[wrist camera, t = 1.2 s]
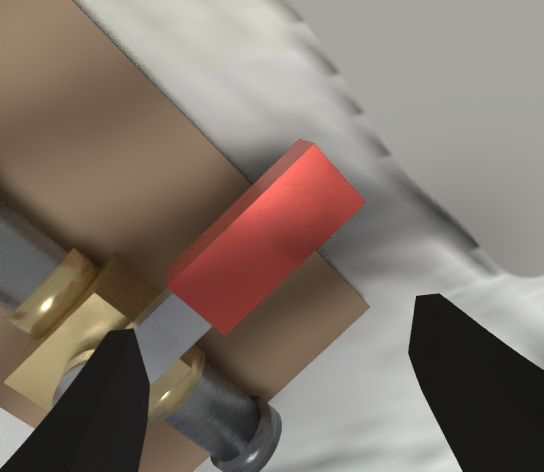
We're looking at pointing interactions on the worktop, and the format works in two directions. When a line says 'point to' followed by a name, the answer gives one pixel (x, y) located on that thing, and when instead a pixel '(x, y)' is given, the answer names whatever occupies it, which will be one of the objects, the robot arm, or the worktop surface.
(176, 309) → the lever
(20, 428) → the worktop surface
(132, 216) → the mounting board
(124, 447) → the robot arm
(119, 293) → the valve pipe
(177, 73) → the worktop surface
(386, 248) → the worktop surface
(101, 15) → the worktop surface
